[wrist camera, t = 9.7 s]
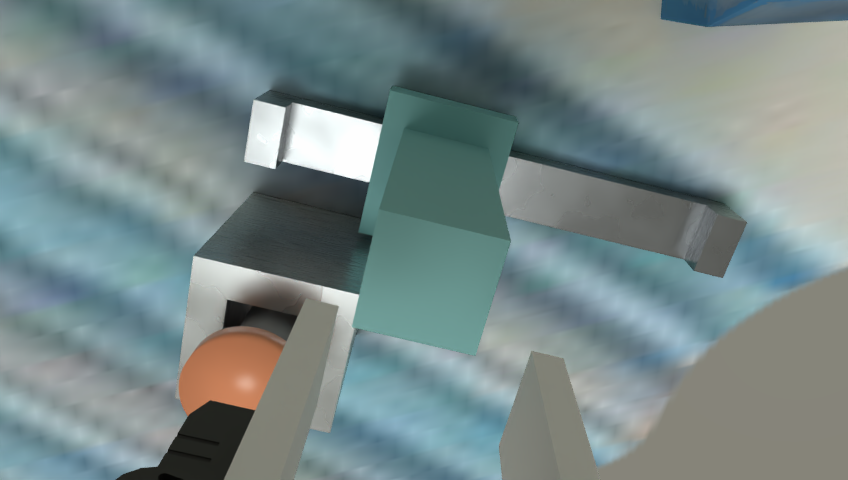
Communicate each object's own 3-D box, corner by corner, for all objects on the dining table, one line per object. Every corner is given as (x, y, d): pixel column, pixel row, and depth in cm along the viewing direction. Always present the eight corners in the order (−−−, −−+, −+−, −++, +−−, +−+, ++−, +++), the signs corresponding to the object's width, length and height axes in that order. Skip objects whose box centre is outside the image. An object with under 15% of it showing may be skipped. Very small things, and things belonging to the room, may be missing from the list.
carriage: (394, 81, 33) (356, 152, 19) (512, 110, 34) (558, 202, 20) (365, 212, 36) (311, 360, 22) (475, 238, 36) (492, 401, 22)
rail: (269, 90, 34) (253, 99, 31) (723, 203, 35) (747, 222, 33) (260, 147, 35) (244, 161, 32) (701, 255, 36) (722, 277, 34)
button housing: (253, 192, 36) (193, 255, 28) (382, 223, 36) (361, 295, 28) (234, 307, 38) (174, 398, 30) (355, 335, 39) (330, 433, 30)
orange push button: (234, 262, 30) (186, 325, 25) (339, 287, 31) (315, 355, 25) (220, 353, 32) (172, 432, 26) (320, 376, 32) (293, 459, 27)
